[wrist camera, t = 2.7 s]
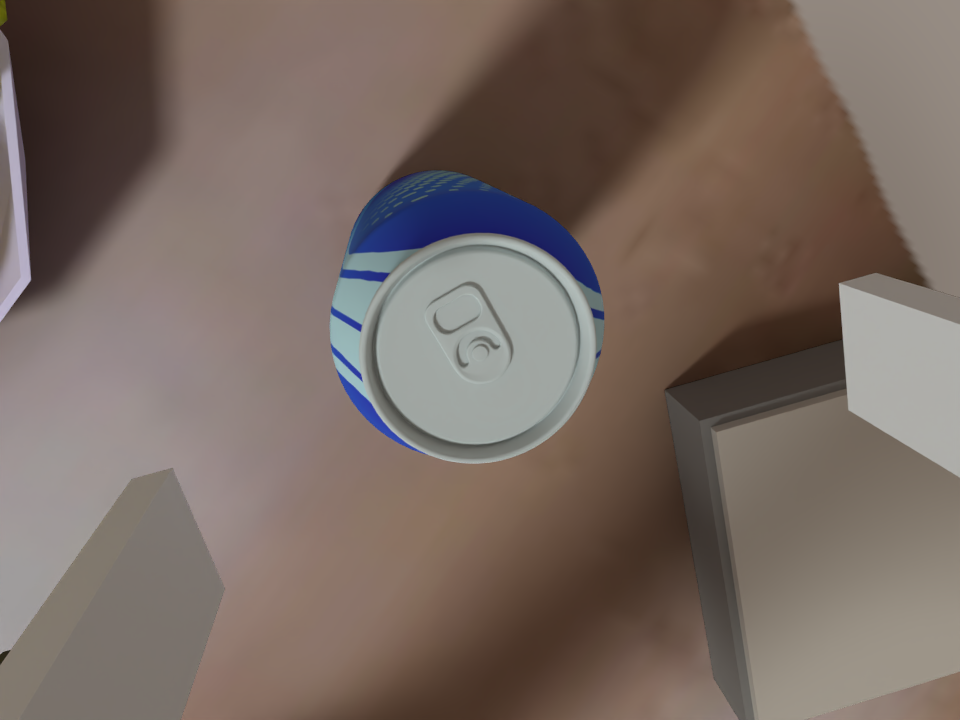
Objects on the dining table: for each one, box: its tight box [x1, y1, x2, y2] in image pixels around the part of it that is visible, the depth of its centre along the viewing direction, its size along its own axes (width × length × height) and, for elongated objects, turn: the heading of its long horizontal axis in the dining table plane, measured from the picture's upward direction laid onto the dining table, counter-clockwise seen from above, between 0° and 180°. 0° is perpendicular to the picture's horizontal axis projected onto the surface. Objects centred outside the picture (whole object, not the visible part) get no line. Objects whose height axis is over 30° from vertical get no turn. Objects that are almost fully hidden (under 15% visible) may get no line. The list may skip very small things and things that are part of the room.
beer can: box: [330, 170, 604, 463], centre depth 27 cm, size 8×8×16 cm
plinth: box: [665, 339, 960, 720], centre depth 40 cm, size 20×20×5 cm
